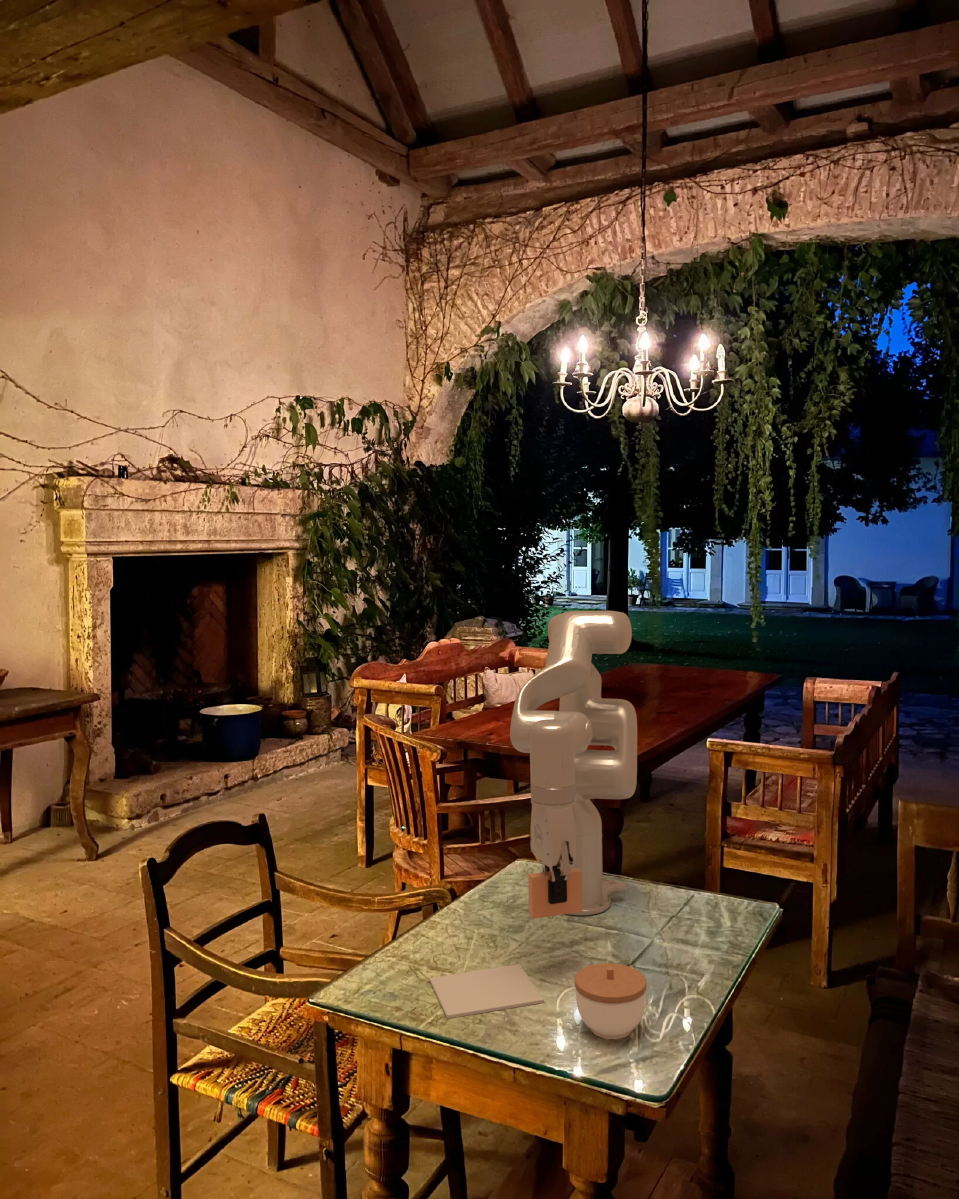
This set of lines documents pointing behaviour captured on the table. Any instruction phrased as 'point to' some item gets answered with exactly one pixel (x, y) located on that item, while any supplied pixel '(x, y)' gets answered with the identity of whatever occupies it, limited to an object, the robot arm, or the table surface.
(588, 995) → the lidded jar
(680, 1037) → the table surface
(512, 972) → the mat
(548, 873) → the block
